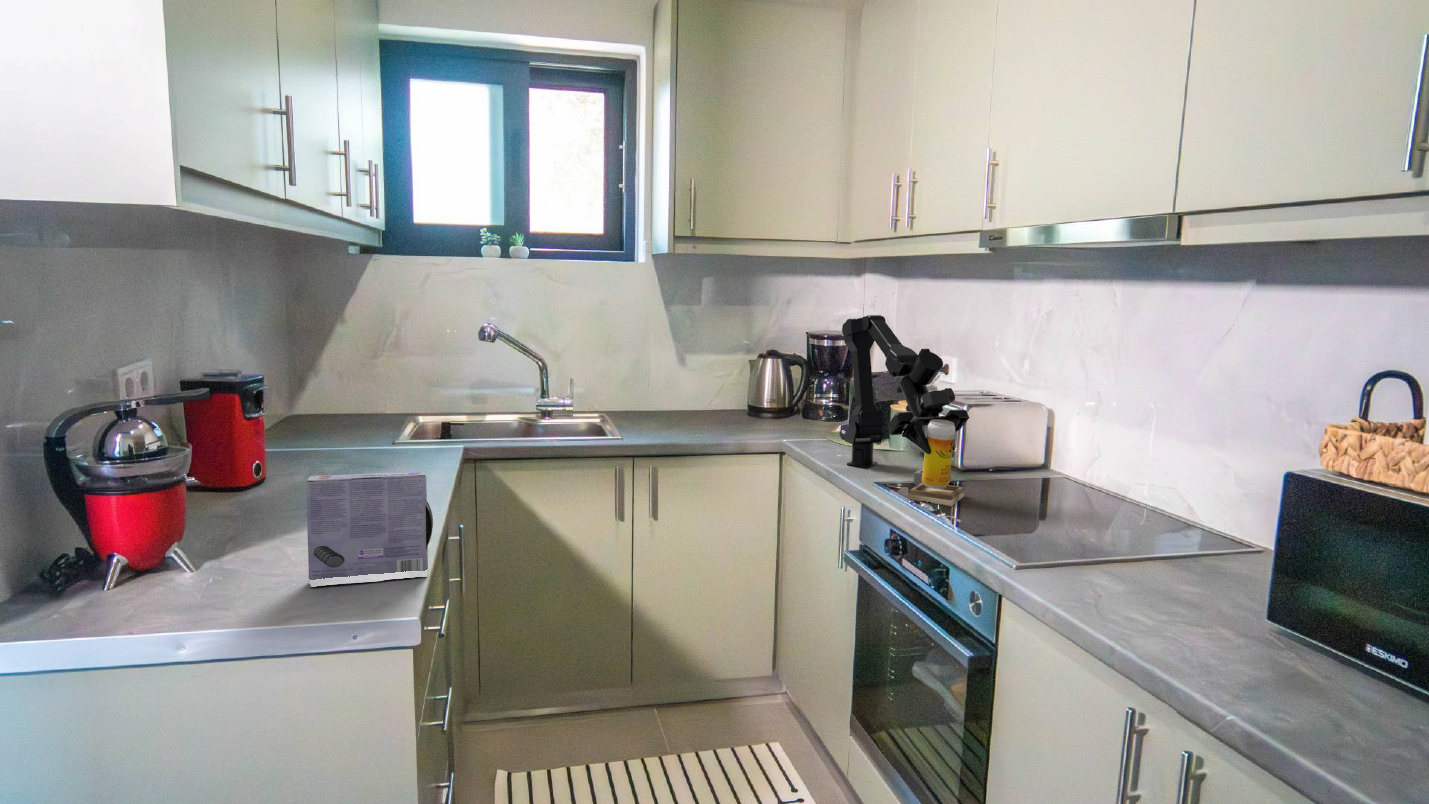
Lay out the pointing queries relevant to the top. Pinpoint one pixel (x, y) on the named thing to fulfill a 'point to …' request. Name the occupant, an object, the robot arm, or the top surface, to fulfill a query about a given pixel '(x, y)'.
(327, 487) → the cake pan box
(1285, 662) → the top surface
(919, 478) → the button console
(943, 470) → the beer can
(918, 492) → the shallow wooden tray
